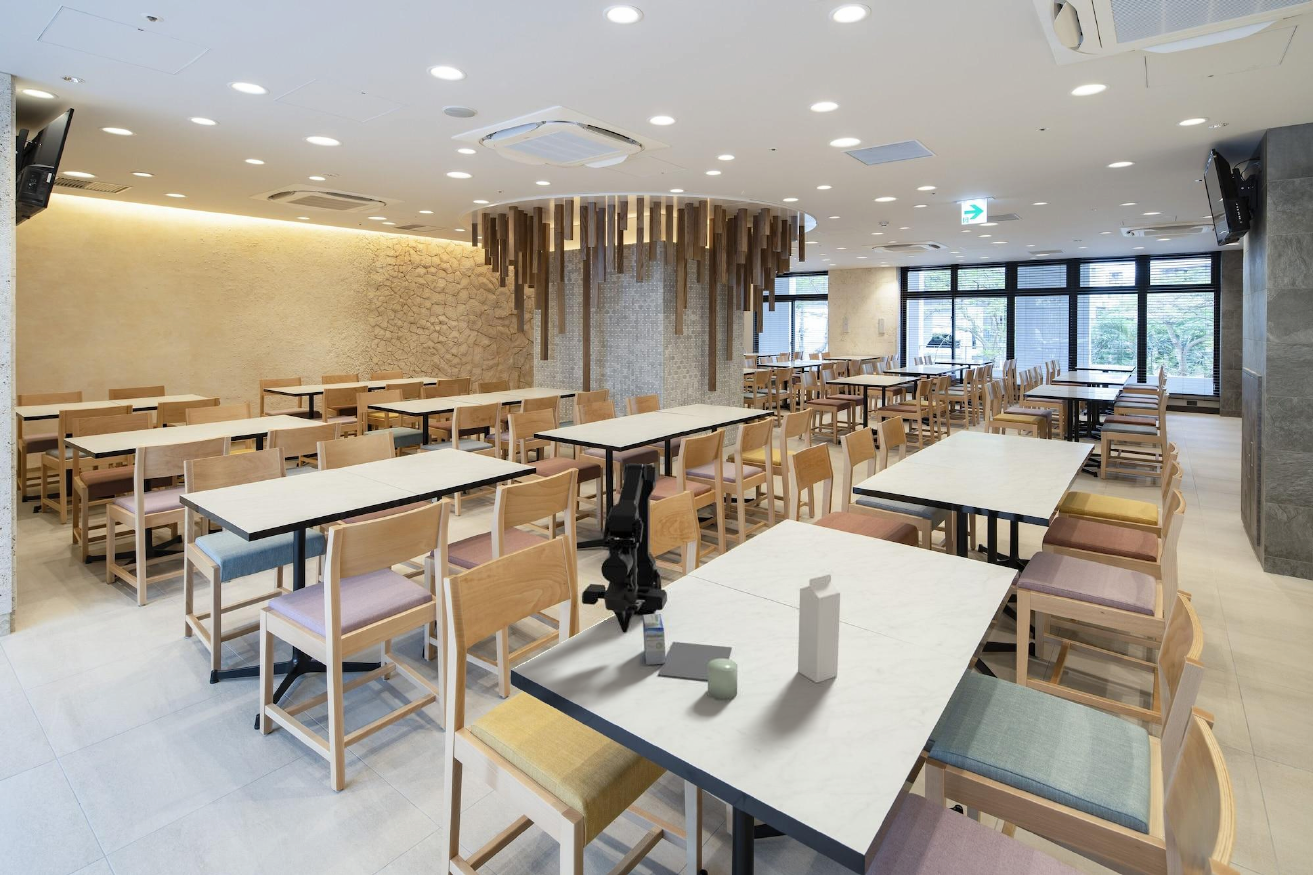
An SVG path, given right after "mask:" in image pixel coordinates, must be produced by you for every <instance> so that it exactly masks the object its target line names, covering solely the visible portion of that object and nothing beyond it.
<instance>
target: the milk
mask: <svg viewBox="0 0 1313 875" xmlns="http://www.w3.org/2000/svg"><path fill="white" fill-rule="evenodd" d="M840 606H841V592H840V591H839V589H838V588H837V586H836V585H835V584H834V583H833V581H832V574H830V573H829V574H825V575H821V576H816V577H812V578H809V583H808V585H807V586H805V587H802V588H799V609H798V610H799V612H798V613H799V614H798V615H799V616H798V619H799V620H798V646H797V647H798V650H797V651H798V653H797V655H798V656H797V672H799V673H800V674H801V675H803V676H804V677H806V678H808V679H810V680H811V681H813V682H814V683H815V684H818V683H820V682H824V681H827V680H830V679H833V678H835V677H838V669H839V668H838V666H839V641H840V640H839V639H840V635H839V634H840V633H839V632H840V614H841V613H840V612H841V609H840V608H841V607H840Z"/></svg>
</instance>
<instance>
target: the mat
mask: <svg viewBox="0 0 1313 875" xmlns="http://www.w3.org/2000/svg"><path fill="white" fill-rule="evenodd" d="M731 653H732V647H731V646H720V645H710V644H699V643H690V642H679V641H672V643H671V645H670V647H669V650H668V652H667V653H666V663H664V664H661V667H660V669H659V671H658V673H657V677H658V676H659V677H666V678H667V677H668V678H674V679H675V678H676V679H677V678H678V679H685V680H686V679H687V680H696V681H704V682H705V681H706V682H708V663H709V662H710V661H712V660H714V659H721V658H722V659H729V660H730V656H731Z"/></svg>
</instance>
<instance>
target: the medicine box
mask: <svg viewBox="0 0 1313 875" xmlns="http://www.w3.org/2000/svg"><path fill="white" fill-rule="evenodd" d="M642 628H643V630H642V631H643V650H644V656H645V664H646V665H647V666H650V665H663V664H664V663H666V656H667V653H666V643H665V642H666V640H665V639H666V638H665V627H664V623H663V618H662V614H661V613H654V614H649V615H642Z"/></svg>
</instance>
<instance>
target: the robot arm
mask: <svg viewBox="0 0 1313 875" xmlns="http://www.w3.org/2000/svg"><path fill="white" fill-rule="evenodd" d="M622 481H623V483H622V487H621V491H620V495H619V499H618V502H617V503H616V504H614V505H613V506H612V507H611V508H610V511H609V514H608V516H606V517H605V520H604V522H605V523H604V530H603V538H602V548H609V549H608V550H609V551H608V555H607V556H606V558H605V560H604V561H603V563H602V564H601V568H600V569H601V575H602V576H603V578H604V579H605V580H606V581H607V582H609V583H608V586H607V588H606V586H605V584H596V583H590V584H588V586H587V587H586V588H585V589H584V591H583V592H582V594H581V603H582V604H583V605H592V606H593V605H594V606H595V605H596V604H597V603H598V602H599V599H600V600H603V601H604V605H605V606H604V607H605V609H606V610H607V611H612V612H613V613H614V615H615V617H616V618H617V621H618V624H619V626H620V628H621V632H622V633H624V634H627V633H628V631H629V628H630V625H631V622H632V619H633V616H634V615H635V616H636V615H637V616H643V615H649V614H655V612H656V611H662V610H663V609H664V607H665V605H666V603H667V602H668V593H667V591H666V590H665V589H663V588H662V579H661V574H660V573H659V569H658V568H657V560H656V559H655V558H654V556H653V553H652V552H651V507H650V506H651V505H650V504H651V498H650V497H651V495H652V494H653V493H654V491H655V489H656V487H657V483H658V482H659V469H658V468H657V467H655V466H654V464H653V463H628V464H625V465H623V467H622ZM609 537H610V538H609Z"/></svg>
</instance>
